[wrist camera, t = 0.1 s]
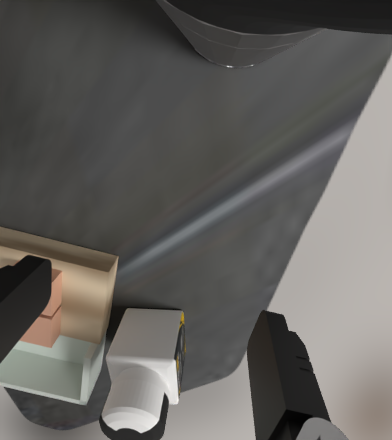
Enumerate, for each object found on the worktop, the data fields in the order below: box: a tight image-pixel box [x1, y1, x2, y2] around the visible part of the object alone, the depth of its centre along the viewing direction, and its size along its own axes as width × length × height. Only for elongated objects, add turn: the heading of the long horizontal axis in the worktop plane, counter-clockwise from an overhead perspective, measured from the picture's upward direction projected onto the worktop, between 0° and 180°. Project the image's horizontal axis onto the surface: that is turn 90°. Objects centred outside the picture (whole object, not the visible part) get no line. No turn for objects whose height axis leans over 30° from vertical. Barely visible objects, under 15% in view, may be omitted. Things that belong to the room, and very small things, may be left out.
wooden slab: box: [0, 227, 118, 345], centre depth 32 cm, size 11×14×3 cm
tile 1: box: [13, 260, 62, 316], centre depth 29 cm, size 4×4×2 cm
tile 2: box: [19, 306, 61, 348], centre depth 31 cm, size 4×4×2 cm
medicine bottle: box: [99, 308, 186, 440], centre depth 30 cm, size 7×7×12 cm
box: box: [0, 330, 107, 405], centre depth 35 cm, size 9×14×5 cm
